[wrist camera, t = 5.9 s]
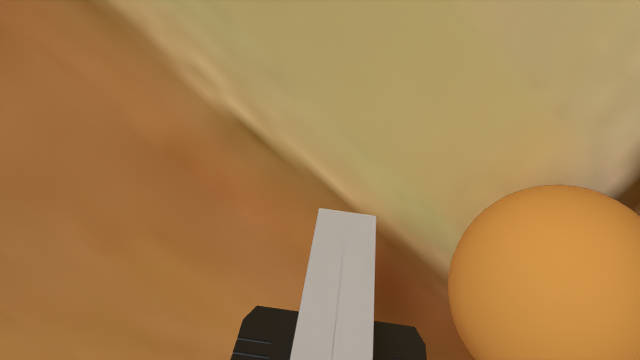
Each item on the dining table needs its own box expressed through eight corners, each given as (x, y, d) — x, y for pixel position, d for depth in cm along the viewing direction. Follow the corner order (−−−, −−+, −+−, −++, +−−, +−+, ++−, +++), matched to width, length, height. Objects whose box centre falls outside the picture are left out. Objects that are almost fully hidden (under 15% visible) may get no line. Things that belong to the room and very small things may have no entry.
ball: (642, 489, 14) (616, 339, 19) (756, 303, 12) (693, 184, 16) (410, 406, 15) (441, 284, 20) (468, 220, 13) (487, 131, 17)
